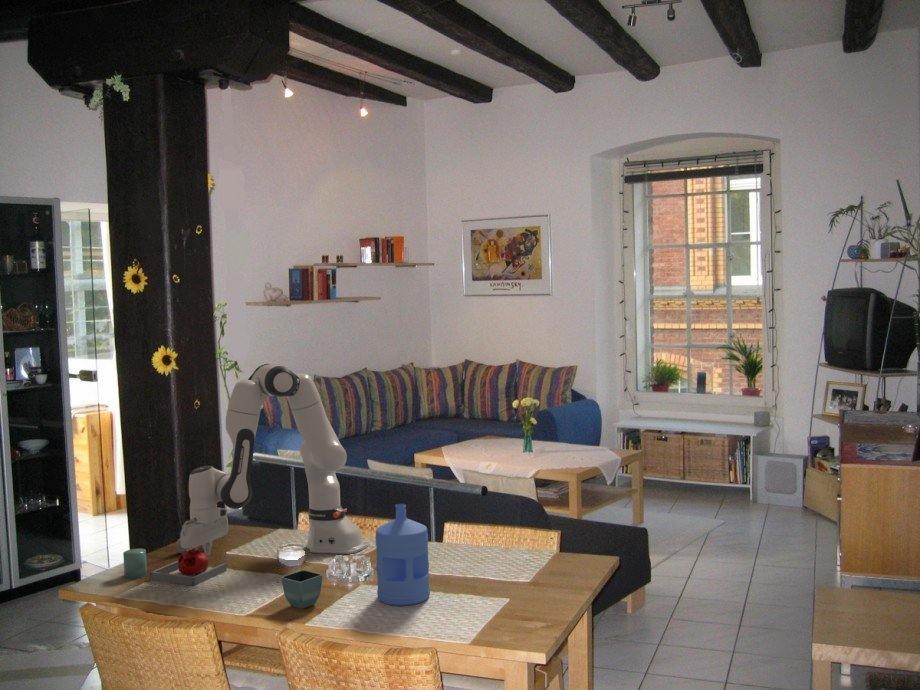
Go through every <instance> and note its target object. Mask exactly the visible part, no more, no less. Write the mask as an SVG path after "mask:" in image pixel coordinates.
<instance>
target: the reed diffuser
mask: <svg viewBox="0 0 920 690" xmlns="http://www.w3.org/2000/svg"><path fill="white" fill-rule="evenodd" d="M173 499H174V498H173ZM173 499H171V501H172V505H173V508H174V511H175V515H176V518H177V519H176V520H177V522H178V526H179V530H180V533H179V534H180V535H179V538H178V539H177V540H176V551H177V553H178V554H182V553H184V552H183V551H188V550H186V549H182V547H181V531H182V526H183V525H184V523H185V522H186V521H187V512H185V514H184V515H185V516H184V522H183V518H182V513H181V507H180V501H179V499H177V504H178V509H179V514H180V516H179V515H178V512H177V509H176V506H175V501H174V500H173ZM187 504H188V496H186V500H185V510H187V507H188V505H187ZM179 517H180V519H179ZM180 520H181V522H180ZM196 548H197V547H195V549H196ZM190 550H191V551H192V549H190Z"/></svg>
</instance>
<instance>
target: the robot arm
mask: <svg viewBox="0 0 920 690" xmlns="http://www.w3.org/2000/svg"><path fill="white" fill-rule="evenodd" d="M268 397H276V398H284V397H285V398H286V399H287V401H288V403H289V408H290V410H291V411H290V412H291V413H292V414H291V415H292V416H293V419H294V421H295V425H296V428H297V430H298V432H299V433H300V434H301V436H302V438H303V441H302V443H301V445H300V447H299V454H300V457H301V459H302V463H303V466H304V472H305V476H306V480H307V486H308V502H309V507H308V511H307V513H308V521H309V527H308V538H307V542H306V546H305V547H306V548H307V549H308V550H309V553H314V554H315V553H316V554H317V553H318V554H319V553H320V554H338V555H339V554H341V555H342V554H343V555H351V554H355V553H358V552H360V551H363V550H365V549H367V547H368V546H369V544H370V543H369V541H368V540H364V539H363V535H362V531H361V528H360V527H359V526H357V525H356V524H355V523H354V522H353V521H351V520H350V519H349V518H347V516H346V512H347V511H348V510H347V509H348V508H346V507H345V508H343V506H342V505H341V488H340V481H339V480H338V478H337V474H336V472H338V471H339V470H341V469H342V468H343V467H344V466H345V465H346V463H347V461H348V460H347V458H348V455H347V452H346V450H345V448H344V447H343V445H342V444H341V442H340V439H339V438H338V436H337V434H336V432H335V430H334V429H333V426H332V425H331V423H330V421H329V418H328V416H327V413H326V409H325V407H324V404H323V402H322V398H321V395H320V394H319V391H318V389H317V386H316V384H315V382H314V381H313V379H312V378H311V376H310V375H309V374H307V373H301V372H300V373H296V374H295V373H294V372H293V371H292V370H291V369H289V367H286V366H284V365H280V364H275V363H265V364H262V365H260V366H257V368H255V370H254V371H253V373H252V374H251V375H250V376H249V378H248V379H243V380H240V381H238V382H236V383H235V384H234V387H233V389H232V391H231V394H230V397H229V401H228V405H227V409H226V416H225V430H226V433H227V435H228V436H229V438H230V441H231V443H232V447H233V453H232V454H233V455H232V461H231V468H230V472H227V471H222V470H220V469H217V468H215V467H213V466H212V465H203V466H199V467H196V468H194V469H192V470H191V472H190V474H189V479H188V496H189V500H190V502H189V517H190V519H189V520H186V522H185V521H184V522H183V526H182V525H181V527H182V530H180V532H181V547H182V549H187V550H190V549H193V548H195V547H196V548H197V547H198V550H199V549H201V550H199V551H201V552H203V553H205V554H206V556H207V557H208V556H209V555H211V550H212V546H213V544H214V543H213V541H215V540H218V539H220V538H221V537H225V536H227V535H228V532H229V520H228V519H229V518H228V516H227V515H228V509H227V508H225V507H223V508H222V507H218V503H220V502H222V503H223V504H224V505H225V506H226V507H228V508H230V509H233V510H239V509H242V508H243V507H245V506H247V504H249V502H250V501H251V499H252V495H253V488H252V487H253V486H252V483H251V471H252V463H253V456H254V449H255V442H256V434H257V429H258V426H259V420H260V415H261V409H262V405H263V403H264V401H265V399H266V398H268ZM196 548H195V549H196ZM204 548H205V549H204Z"/></svg>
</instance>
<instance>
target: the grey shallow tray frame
mask: <svg viewBox="0 0 920 690" xmlns="http://www.w3.org/2000/svg"><path fill="white" fill-rule="evenodd" d="M178 566H179V564H178V560H175V561H174V562H172V563H169V564H167V565H163V566H162V567H159V568H156V569H154V570H151V571H150V572H149V580H150V581H154V582H155V581H156V582H162V583H163V582H164V583H168V584H169V583H171V584H176V585H177V584H178V585H184V586H191V587H192V586H193V587H195V586H197V585H199V584H201V583H204V582H205V581H208V580H210V579H212V578H215V577H216V576H219V575H221V574H223V573H224V572H227V569H228V568H227V567H228V566H227V563H225V562H223V563H221V564H219V565H217V566H215V567H212V568H210V569H207V570H206V571H205V572H203V573H201V574H198V575H193V576H191V575H184V574H182V575H181V574H176V573H175V574H174V573H173V572H175V571H177V570H179V568H178Z"/></svg>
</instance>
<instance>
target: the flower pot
mask: <svg viewBox="0 0 920 690" xmlns="http://www.w3.org/2000/svg"><path fill="white" fill-rule="evenodd" d="M322 582H323V574H321V573H318V572H314V571H309V570H305V569H301V570H298V571H295V572H292V573H289V574H286V575H283V576H281V585H282V590H283V594H284V597H285V599H286V601H287V602H288V604H289V605H290V606H291V607H293V608H294V607H295V608H297V609H301V610H303V609H306V608H308V607H312V606H314V605H315V604H316V603H317V601H318V599H319V597H320V595H321V592H322V591H321V590H322V584H323V583H322Z"/></svg>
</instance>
